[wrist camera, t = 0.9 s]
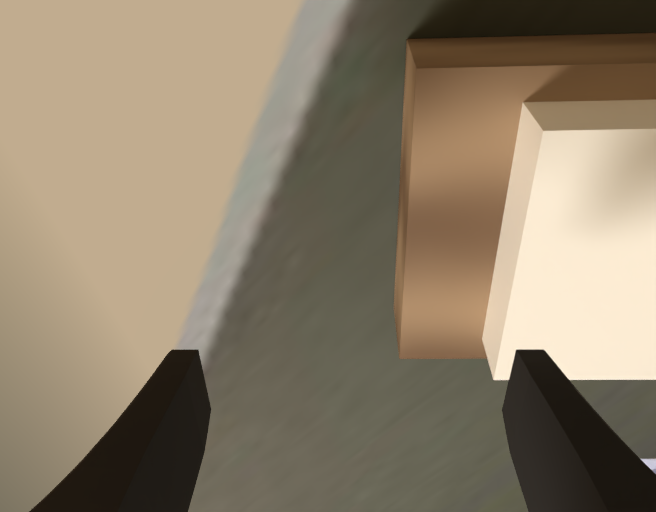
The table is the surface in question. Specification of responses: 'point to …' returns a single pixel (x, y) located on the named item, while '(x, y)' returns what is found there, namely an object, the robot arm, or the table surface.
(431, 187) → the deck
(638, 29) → the table surface
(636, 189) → the cream rectangular block
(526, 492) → the robot arm
